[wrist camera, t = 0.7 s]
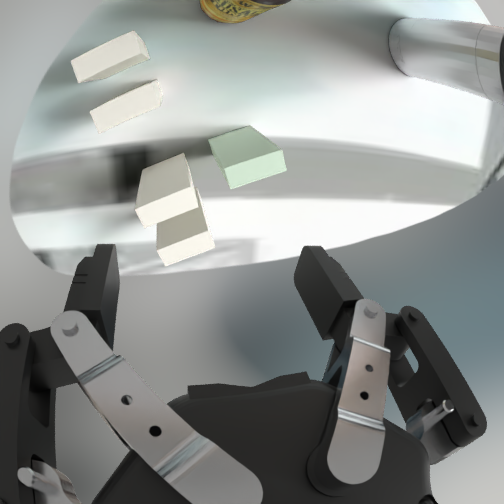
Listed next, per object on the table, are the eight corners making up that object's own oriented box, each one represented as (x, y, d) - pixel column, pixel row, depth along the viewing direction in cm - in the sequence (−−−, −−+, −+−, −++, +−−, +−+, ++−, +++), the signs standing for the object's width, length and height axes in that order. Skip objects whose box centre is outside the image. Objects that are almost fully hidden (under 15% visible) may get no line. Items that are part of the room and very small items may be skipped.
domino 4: (196, 186, 33) (208, 230, 26) (201, 200, 35) (215, 247, 27) (157, 202, 33) (156, 250, 25) (163, 215, 34) (165, 266, 27)
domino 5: (250, 125, 31) (282, 149, 23) (254, 141, 32) (286, 170, 24) (207, 139, 30) (224, 168, 23) (213, 155, 32) (230, 189, 24)
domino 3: (183, 152, 30) (190, 186, 23) (189, 168, 32) (198, 207, 24) (142, 169, 30) (134, 209, 22) (149, 184, 31) (144, 228, 24)
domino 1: (144, 42, 22) (133, 30, 14) (150, 58, 23) (141, 53, 15) (100, 62, 22) (70, 60, 14) (105, 78, 23) (78, 83, 15)
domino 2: (157, 79, 25) (151, 82, 17) (163, 95, 26) (160, 106, 18) (113, 98, 24) (89, 111, 17) (119, 114, 26) (99, 134, 18)
